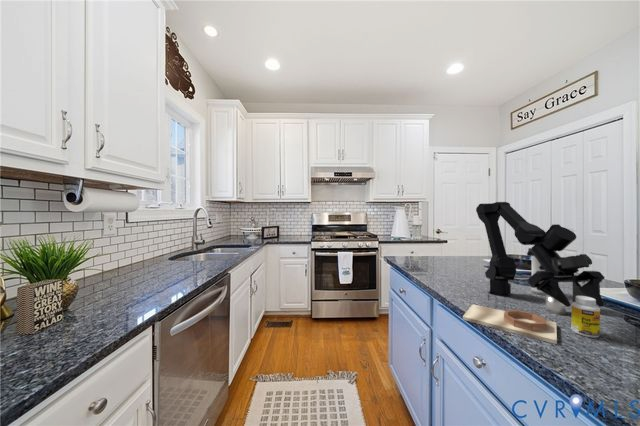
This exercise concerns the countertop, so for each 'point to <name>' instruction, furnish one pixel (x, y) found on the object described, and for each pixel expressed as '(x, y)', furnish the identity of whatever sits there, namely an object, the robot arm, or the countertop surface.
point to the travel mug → (534, 269)
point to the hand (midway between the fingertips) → (585, 306)
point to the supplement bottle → (585, 317)
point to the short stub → (555, 306)
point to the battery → (578, 291)
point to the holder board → (500, 324)
